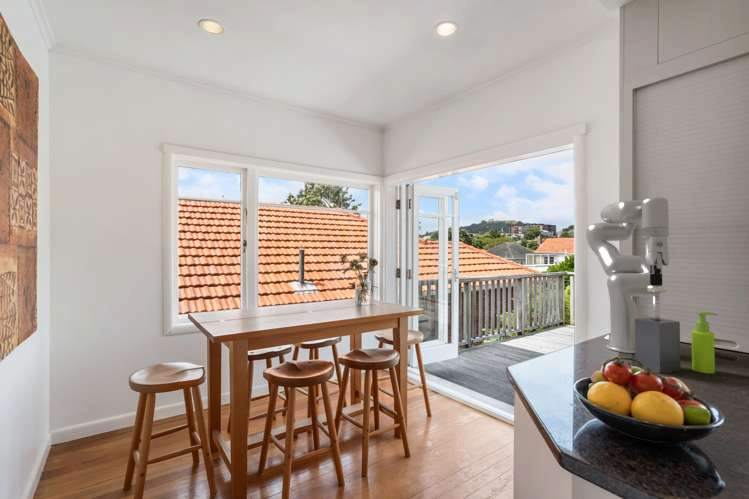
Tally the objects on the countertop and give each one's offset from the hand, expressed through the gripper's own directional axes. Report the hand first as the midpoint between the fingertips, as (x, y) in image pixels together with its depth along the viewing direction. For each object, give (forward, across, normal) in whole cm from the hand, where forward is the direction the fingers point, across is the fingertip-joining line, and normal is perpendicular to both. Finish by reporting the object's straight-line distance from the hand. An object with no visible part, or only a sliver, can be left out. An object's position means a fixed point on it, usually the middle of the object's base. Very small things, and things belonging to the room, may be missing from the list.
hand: (656, 285), depth 131 cm
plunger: (+19, 0, 0) cm, 19 cm away
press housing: (+29, 0, 0) cm, 29 cm away
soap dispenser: (+29, +2, -14) cm, 32 cm away
